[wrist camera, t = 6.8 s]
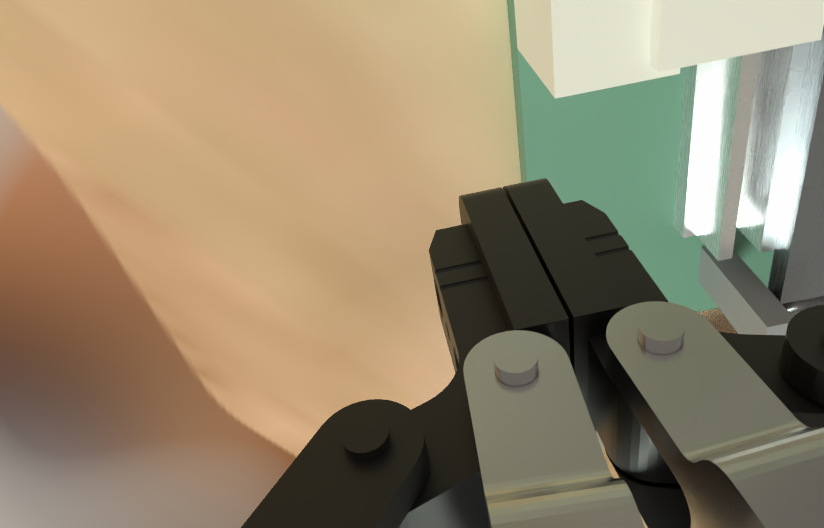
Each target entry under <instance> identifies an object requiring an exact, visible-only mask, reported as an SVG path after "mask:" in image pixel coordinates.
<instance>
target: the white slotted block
mask: <svg viewBox="0 0 824 528" xmlns="http://www.w3.org/2000/svg"><path fill="white" fill-rule="evenodd" d="M810 44H811V42H808V43H803V44H798V45H793V46H788V47H783V48H778V49H773V50H768V51H763V52H758V53H753V54H748V55H743V56H738V57H733V58H728V59H723V60H718V61H713V62H708V63H703V64H698V65H693V66H688V67H685V71H684V85H683V100H682V114H681V128H680V143H679V157H678V171H677V186H676V200H675V214H674V227H675V229H676V230H677V231H678V232H679V234H680V235H681V236H682V237H683V238H686V237H691V236H696V235H697V237H698V238H699V239H700V240H701V241H702V243H703V244H704V245H705V246H706V247H707V249H708V250H709V251H710V252H711V253H712V255H713V256H714V257H715V258H716V259H717V260H718V261H721V260H726V259H731V258H732V255H733V248H734V240H735V233H736V227H737V228H738V229H739V230H740V232H741V233H742V234H743V235H744V236H745V237H746V238H747V239H748V240H749V241H750V242H751V243H752V244H753V245H754V246H755V247H756V249H757V250H758V251H759V252H760V253H761V252H766V251H771V250H775V244H776V238H777V232H778V227H779V221H780V215H781V210H782V204H783V198H784V193H785V187H786V181H787V175H788V170H789V164H790V158H791V153H792V147H793V141H794V136H795V130H796V124H797V119H798V113H799V107H800V101H801V96H802V90H803V84H804V79H805V73H806V67H807V62H808V56H809V50H810Z"/></svg>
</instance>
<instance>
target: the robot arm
mask: <svg viewBox="0 0 824 528" xmlns="http://www.w3.org/2000/svg"><path fill="white" fill-rule="evenodd" d="M459 208H460V216H461V223H462V225H459V226H455V227H450V228H445V229H440V230H436V232H435V235H434V238H433V240H432V243H431V246H430V249H429V253H430V259H431V265H432V271H433V277H434V283H435V289H436V295H437V300H438V306H439V312H440V318H441V322H442V325H443V329H444V333H445V336H446V339H447V344H448V347H449V351H450V354H451V357H452V362H453V365H454V369H455V373H456V374H455V376H454V378H453V379H452V381H451V382H450V383H449V385H448V386H447V387H446V388H445V389H444V390H443V391H442V392H441V393H439V394H438V395H437V396H436V397H434V398H432V399H431V400H429V401H427V402H425V403H423V404H422V405H420V406H418V407H416V408H414V409H412V410H410V409H409V408H407V407H406V406H404V405H402V404H399V403H397V402H393V401H389V400H381V399H375V400H366V401H360V402H357V403H354V404H351V405H349V406H347V407H344V408H343V409H341V410H339V411H338V412H336V413H335V414H333V415H332V416H331V417H330V418H329V419H328V420H327V421H326V422H325V423H324V424H323V425H322V426H321V427H320V429H319V430H318V431H317V432H316V434H315V435H314V436H313V438H312V439H311V440H310V441H309V443H308V444H307V445H306V446H305V448H304V449H303V450H302V451H301V453H300V454H299V455H298V456H297V458H296V459H295V460H294V461H293V463H292V464H291V465H290V467H289V468H288V469H287V470H286V472H285V473H284V474H283V475H282V477H281V478H280V479H279V481H278V482H277V483H276V484H275V485H274V487H273V488H272V489H271V490H270V492H269V493H268V494H267V496H266V497H265V498H264V499H263V501H262V502H261V503H260V504H259V506H258V507H257V508H256V509H255V511H254V512H253V513H252V515H251V516H250V517H249V518H248V519H247V521H246V522H245V523H244V525H243V526H242V527H241V528H824V305H817V306H813V307H809V308H807V309H804V310H802V311H800V312H799V313H797V314H796V315H794V317H793V318H792V319H791V320H790V322H789V324H788V326H787V330H786V335H752V334H731V333H724V332H718V331H717V330H716V328H715V327H714V326H713V325H712V324H711V323H710V322H709V321H708V320H707V319H706V318H705V317H704V316H702V315H701V314H699V313H698V312H696V311H694V310H692V309H690V308H688V307H685V306H682V305H679V304H675V303H670V302H668V300H667V299H666V297H665V296H664V295H663V293H662V292H661V290H660V289H659V288H658V286H657V285H656V283H655V282H654V281H653V279H652V278H651V276H650V275H649V274H648V272H647V271H646V269H645V268H644V267H643V265H642V264H641V262H640V261H639V260H638V258H637V257H636V255H635V254H634V253H633V251H632V250H629V246H628V244H627V243H626V241H625V240H624V239H623V237H622V236H621V235H619V234H618V230H617V229H616V227H615V226H614V225H613V223H612V222H611V221H610V219H609V218H608V216H607V215H606V214H605V213H604V212H602V211H601V210H599V209H597V208H595V207H594V206H592V205H590V204H588V203H587V202H585V201H583V200H579V201H574V202H569V203H564V204H563V203H562V201H561V200H560V198H559V196H558V195H557V193H556V192H555V190H554V189H553V187H552V185H551V184H550V182H549V181H548V180H547V179H546V178H543V179H538V180H533V181H528V182H524V183H519V184H514V185H509V186H504V187H503V189H502V188H501V187H500V188H495V189H491V190H486V191H481V192H476V193H471V194H466V195H462V196H459ZM595 430H597V432H598V435H599V437H600V439H601V441H602V443H603V445H604V454H603V451H602V448H601V446H600V443H599V440H598V437H597V435H596V432H595Z"/></svg>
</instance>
